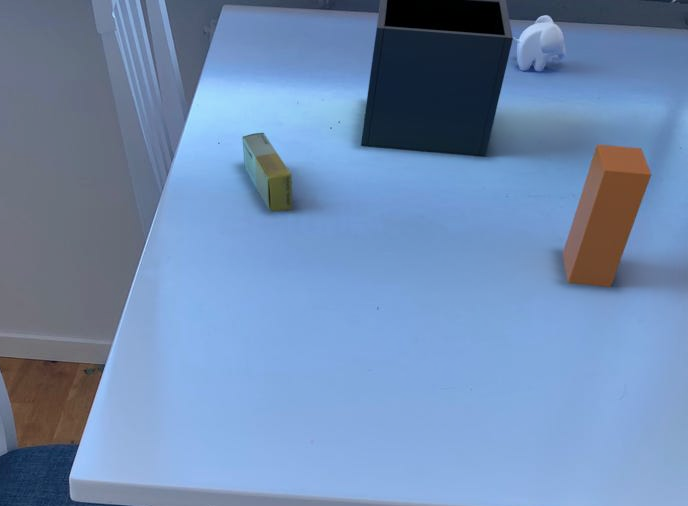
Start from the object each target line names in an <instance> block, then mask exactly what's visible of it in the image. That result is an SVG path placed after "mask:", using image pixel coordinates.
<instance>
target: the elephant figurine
mask: <svg viewBox="0 0 688 506" xmlns="http://www.w3.org/2000/svg"><path fill="white" fill-rule="evenodd" d="M513 40H514V41H516V42H517V44H516V45H517V46H516V63H517V65H518V67H519V69H520V71H523V72H526V71H527V72H528V71H529V70H530V68H531V66H532V67H533V70H534V71H535V72H538V73H540V72H543V70H544V69H545V67H546V64H547V62H548V61H549V59H550V58H551V57H552V56H557V57H552V58H551V62H552V63H553V64H555V65H556V64H559V63H560V62H561V61H563V60H564V57H565V58H567V57H568V56H567V55H566V53H567V49H566V46H565V37H564V33H563V31H562V29H561V27H559V25H557V24H556V23H554V20H553V19H552V17H551V16H550V15H541V16H539V17H538V18H537V19H536V20H535V22H534V24H531V25H530V26H528V27H527V28H525V29H524V30H523V31H522V33H521V34H520V36H519V38H515V37H514V36H513Z"/></svg>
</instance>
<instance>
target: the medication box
mask: <svg viewBox="0 0 688 506" xmlns="http://www.w3.org/2000/svg"><path fill="white" fill-rule="evenodd" d="M242 149H243V163H244V164H243V165H244V168H245V170H246V172H247V174H248V175H249V177H250V179H251V181H252V183H253V185H254V186H255V188H256V190H257V191H258V193H259V194H260V197H261V198H262V201H263V202H264V204H265V206H266V207H267V210H268V211H269V212H282V211H283V212H285V211H293V185H292V181H293V179H292V173H291V171H290V169H288V167H287V166H286V164H285V162H284V161H283V159H282V158H281V156H280V155H279V154H278V152H277V151H276V149H275V147H274V146H273V145H272V143H271V141H270V140H269V139H268V137H267V135H266V134H265V132H257V133H250V134H247V135H242Z"/></svg>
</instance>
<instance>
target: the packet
mask: <svg viewBox="0 0 688 506" xmlns="http://www.w3.org/2000/svg"><path fill="white" fill-rule="evenodd" d="M651 177H652V173H651V170H650V168H649V164H648V162H647V159H646V157H645V155H644V152H643V149H642V148H641V147H632V146H621V145H620V146H619V145H608V144H607V145H606V144H597V145H596V147H595V149H594V152H593V156H592V159H591V162H590V165H589V169H588V172H587V175H586V178H585V181H584V184H583V188H582V191H581V194H580V197H579V200H578V203H577V206H576V210H575V213H574V217H573V219H572V222H571V226H570V230H569V231H568V235H567V240H566V242H565V245H564V248H563V252H562V259H563V264H564V270H565V273H566V279H567V283H568V284H574V285H575V284H576V285H584V286H595V287H605V288H611V287H612V285H613V281H614V280H615V277H616V274H617V271H618V268H619V265H620V262H621V260H622V257H623V254H624V251H625V249H626V247H627V243H628V241H629V237H630V235H631V232H632V230H633V227H634V224H635V221H636V218H637V215H638V213H639V211H640V207H641V204H642V202H643V200H644V196H645V193H646V191H647V188H648V186H649V182H650V179H651Z"/></svg>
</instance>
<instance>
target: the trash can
mask: <svg viewBox="0 0 688 506" xmlns="http://www.w3.org/2000/svg"><path fill="white" fill-rule="evenodd" d="M513 37H514V36H513V32H512V25H511V21H510V15H509V11H508V6H507V0H379V7H378V15H377V21H376V29H375V37H374V42H373V43H374V44H373V52H372V59H371V66H370V73H369V81H368V88H367V96H366V103H365V111H364V117H363V125H362V133H361V139H360V140H361V141H360V147H366V148H376V149H377V148H378V149H387V150H400V151H411V152H423V153H434V154H446V155H458V156H468V157H478V158H479V157H481V158H486V155H487V151H488V148H489V143H490V139H491V136H492V135H491V134H492V130H493V126H494V122H495V119H496V113H497V109H498V105H499V101H500V97H501V91H502V87H503V82H504V78H505V75H506V70H507V66H508V62H509V57H510V53H511V48H512V44H513V40H514V39H513Z"/></svg>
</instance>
